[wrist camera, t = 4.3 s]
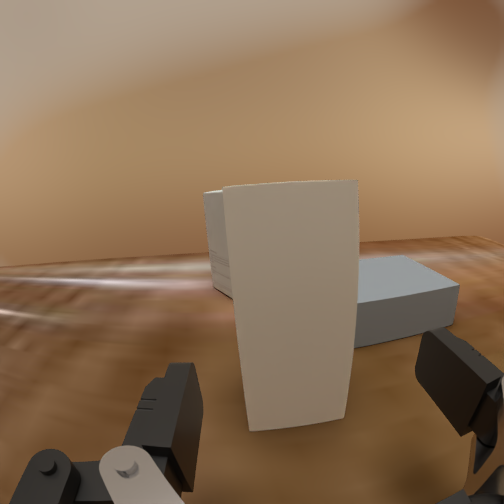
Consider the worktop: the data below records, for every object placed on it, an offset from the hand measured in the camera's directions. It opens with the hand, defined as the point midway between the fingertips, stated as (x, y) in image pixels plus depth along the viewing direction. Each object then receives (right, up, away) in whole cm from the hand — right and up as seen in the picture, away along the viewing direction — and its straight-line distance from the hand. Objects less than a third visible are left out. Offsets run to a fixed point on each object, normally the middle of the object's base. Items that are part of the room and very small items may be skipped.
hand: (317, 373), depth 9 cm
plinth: (+11, -2, +18) cm, 21 cm away
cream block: (0, -5, +8) cm, 10 cm away
